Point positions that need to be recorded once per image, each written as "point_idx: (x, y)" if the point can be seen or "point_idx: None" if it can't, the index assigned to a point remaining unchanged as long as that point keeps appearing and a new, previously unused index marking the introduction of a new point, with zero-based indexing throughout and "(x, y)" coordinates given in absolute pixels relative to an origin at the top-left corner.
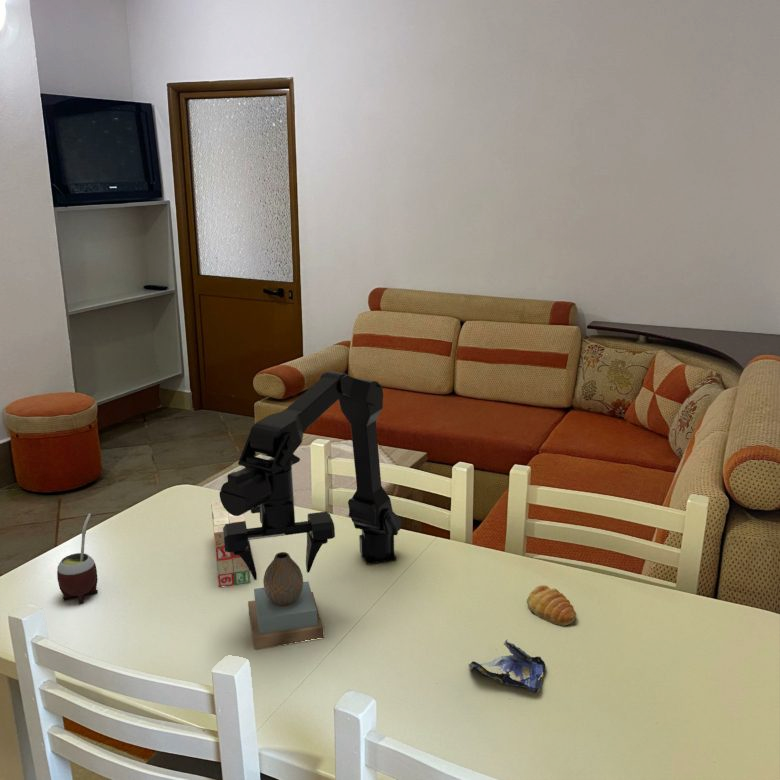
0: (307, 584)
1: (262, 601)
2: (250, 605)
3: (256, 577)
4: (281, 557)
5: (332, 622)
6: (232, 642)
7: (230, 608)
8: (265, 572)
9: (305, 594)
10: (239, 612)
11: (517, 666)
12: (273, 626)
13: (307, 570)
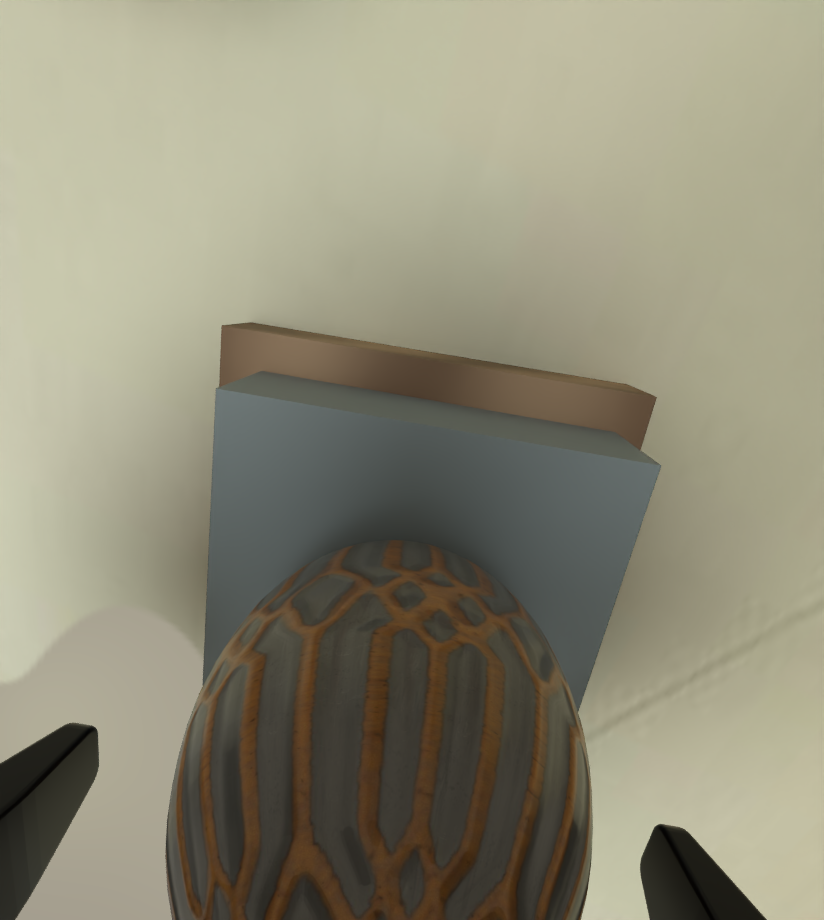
0: (632, 506)
1: (253, 579)
2: (230, 382)
3: (69, 823)
4: (389, 916)
5: (630, 604)
6: (143, 551)
7: (149, 230)
8: (167, 825)
9: (559, 623)
10: (198, 301)
11: None
12: None
13: (650, 916)
